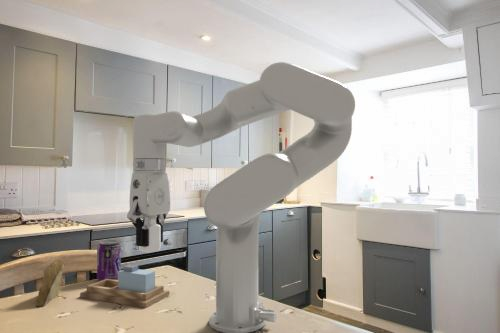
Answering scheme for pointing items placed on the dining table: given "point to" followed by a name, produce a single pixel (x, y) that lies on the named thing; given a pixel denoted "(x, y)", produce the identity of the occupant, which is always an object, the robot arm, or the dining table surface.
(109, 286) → the frame
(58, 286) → the rock
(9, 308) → the dining table surface
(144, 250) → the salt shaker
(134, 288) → the light blue block
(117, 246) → the beverage can
